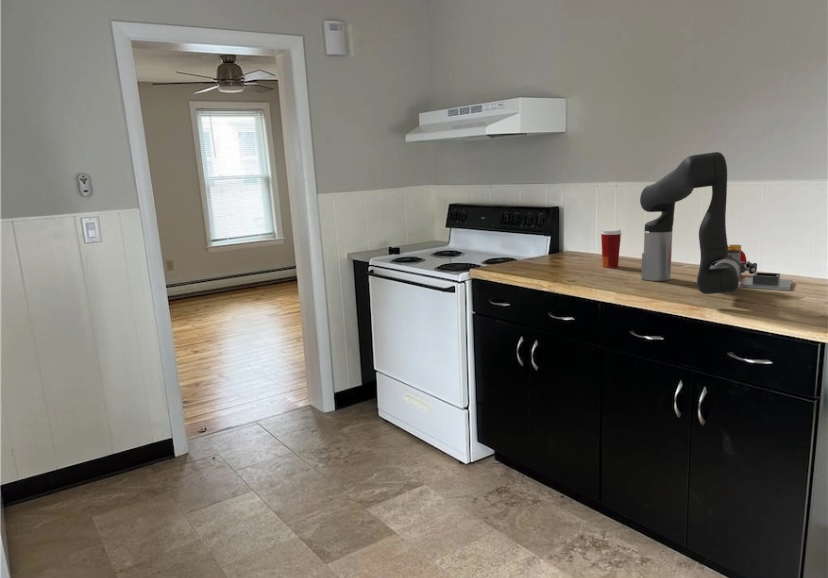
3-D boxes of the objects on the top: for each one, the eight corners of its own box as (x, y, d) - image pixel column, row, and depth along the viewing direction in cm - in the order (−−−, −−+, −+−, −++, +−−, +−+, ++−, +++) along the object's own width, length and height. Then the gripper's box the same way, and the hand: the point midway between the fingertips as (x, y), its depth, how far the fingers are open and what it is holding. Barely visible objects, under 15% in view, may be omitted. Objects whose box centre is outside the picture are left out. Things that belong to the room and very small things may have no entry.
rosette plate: (739, 287, 199) (739, 276, 198) (744, 279, 210) (745, 270, 209) (789, 290, 191) (790, 279, 190) (792, 282, 202) (793, 272, 202)
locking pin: (723, 288, 198) (726, 245, 195) (725, 286, 201) (728, 244, 198) (737, 289, 196) (740, 246, 193) (739, 287, 199) (742, 244, 196)
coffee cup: (623, 265, 249) (624, 229, 246) (617, 268, 242) (618, 231, 239) (602, 264, 253) (603, 228, 251) (596, 267, 247) (597, 230, 244)
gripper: (753, 260, 181) (759, 253, 194) (701, 258, 189) (710, 251, 202) (751, 285, 182) (757, 276, 195) (700, 282, 190) (709, 273, 203)
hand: (733, 263), depth 198 cm, fingers open, 8 cm apart
